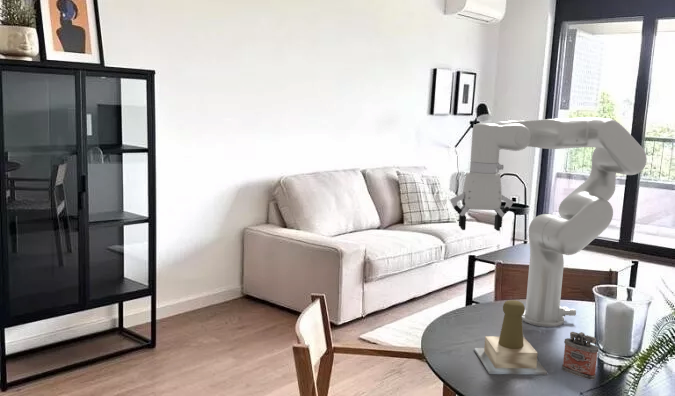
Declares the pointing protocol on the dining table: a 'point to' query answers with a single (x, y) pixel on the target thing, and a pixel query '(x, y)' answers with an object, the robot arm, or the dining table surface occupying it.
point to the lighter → (580, 355)
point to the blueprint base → (507, 371)
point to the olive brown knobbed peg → (512, 325)
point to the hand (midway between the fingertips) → (479, 229)
